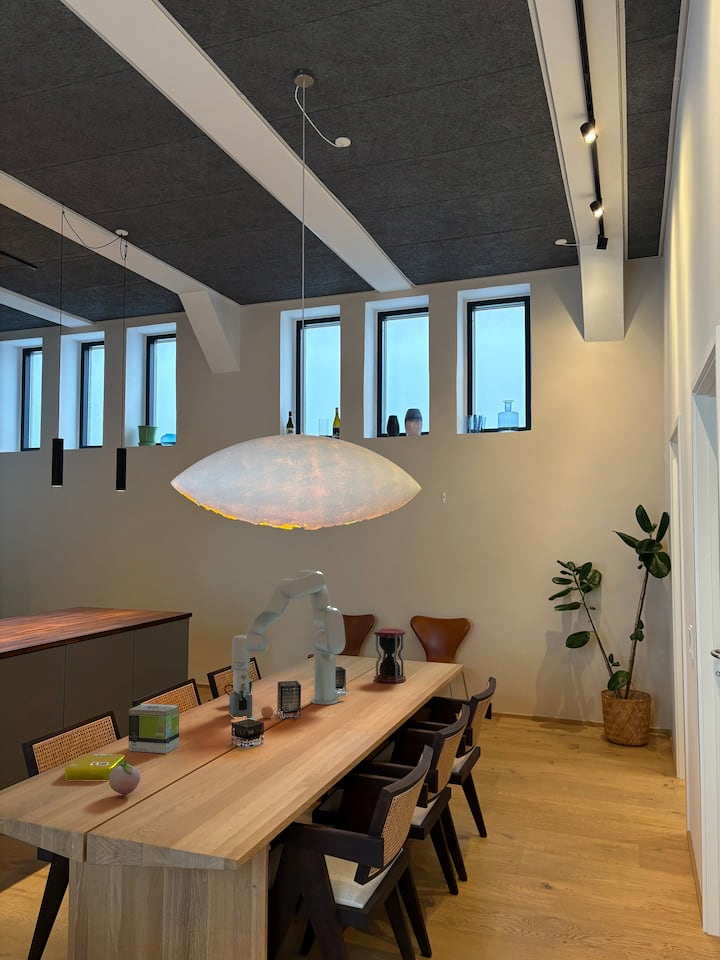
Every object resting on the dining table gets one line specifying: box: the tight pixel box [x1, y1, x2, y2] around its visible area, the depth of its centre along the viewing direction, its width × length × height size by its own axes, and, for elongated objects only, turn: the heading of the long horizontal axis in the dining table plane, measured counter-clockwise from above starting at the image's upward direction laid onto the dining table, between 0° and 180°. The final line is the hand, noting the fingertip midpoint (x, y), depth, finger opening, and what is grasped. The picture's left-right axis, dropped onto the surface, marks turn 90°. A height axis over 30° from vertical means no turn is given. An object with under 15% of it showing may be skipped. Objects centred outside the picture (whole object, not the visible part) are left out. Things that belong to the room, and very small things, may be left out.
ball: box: [260, 705, 274, 719], centre depth 307 cm, size 5×5×5 cm
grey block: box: [228, 691, 253, 718], centre depth 312 cm, size 8×8×9 cm
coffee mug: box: [223, 678, 253, 696], centre depth 332 cm, size 12×9×10 cm
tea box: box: [128, 703, 180, 754], centre depth 267 cm, size 15×10×15 cm
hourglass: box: [373, 628, 407, 685], centre depth 379 cm, size 16×16×25 cm
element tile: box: [64, 753, 126, 781], centre depth 241 cm, size 15×15×5 cm
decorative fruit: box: [108, 761, 141, 796], centre depth 221 cm, size 9×8×10 cm
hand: (240, 707), depth 312 cm, fingers open, 9 cm apart
